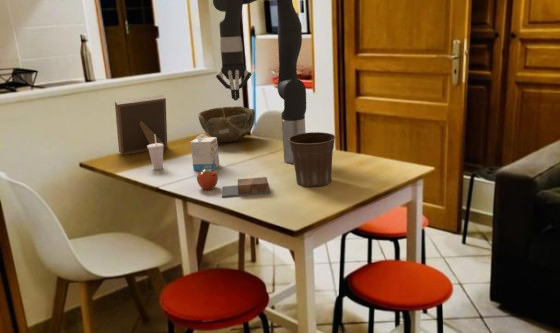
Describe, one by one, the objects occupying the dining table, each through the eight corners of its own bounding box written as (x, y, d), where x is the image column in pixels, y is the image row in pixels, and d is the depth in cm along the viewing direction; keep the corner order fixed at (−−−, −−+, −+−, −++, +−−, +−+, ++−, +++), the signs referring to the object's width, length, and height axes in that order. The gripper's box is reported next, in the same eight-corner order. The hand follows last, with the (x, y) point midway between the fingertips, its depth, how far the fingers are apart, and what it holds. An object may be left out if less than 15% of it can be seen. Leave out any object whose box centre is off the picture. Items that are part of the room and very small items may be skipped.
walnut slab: (238, 187, 180) (267, 185, 180) (238, 194, 173) (268, 191, 174) (237, 179, 179) (266, 176, 180) (237, 185, 172) (268, 183, 173)
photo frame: (119, 153, 240) (111, 99, 233) (164, 145, 251) (158, 93, 244) (128, 160, 228) (120, 103, 221) (175, 151, 239) (169, 97, 231)
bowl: (234, 150, 232) (231, 118, 228) (189, 145, 247) (186, 114, 243) (268, 137, 254) (266, 107, 250) (225, 133, 269) (223, 104, 265)
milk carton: (213, 170, 204) (209, 137, 200) (193, 170, 206) (189, 137, 202) (219, 164, 212) (216, 132, 208) (200, 164, 214) (197, 132, 210)
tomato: (215, 191, 179) (213, 169, 176) (194, 191, 180) (192, 169, 178) (221, 185, 186) (219, 163, 183) (201, 185, 187) (199, 163, 185)
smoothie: (169, 166, 214) (165, 133, 210) (159, 170, 208) (155, 136, 204) (156, 165, 216) (152, 132, 213) (146, 169, 211) (142, 136, 207)
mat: (268, 184, 183) (268, 182, 183) (270, 193, 174) (269, 191, 173) (222, 188, 182) (222, 186, 182) (222, 197, 172) (221, 195, 172)
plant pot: (323, 192, 172) (321, 144, 167) (282, 186, 180) (279, 141, 176) (344, 178, 185) (343, 133, 181) (305, 173, 194) (303, 130, 189)
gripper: (250, 48, 184) (254, 97, 189) (212, 50, 183) (217, 99, 188) (251, 49, 177) (254, 100, 181) (212, 52, 176) (216, 103, 180)
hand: (235, 100), depth 184 cm, fingers closed
